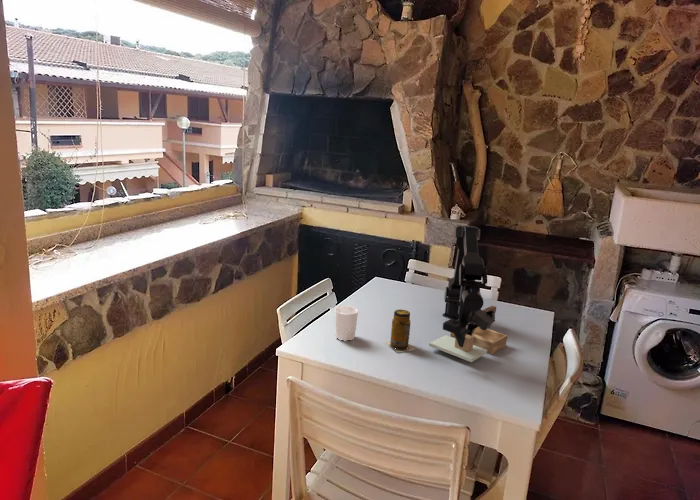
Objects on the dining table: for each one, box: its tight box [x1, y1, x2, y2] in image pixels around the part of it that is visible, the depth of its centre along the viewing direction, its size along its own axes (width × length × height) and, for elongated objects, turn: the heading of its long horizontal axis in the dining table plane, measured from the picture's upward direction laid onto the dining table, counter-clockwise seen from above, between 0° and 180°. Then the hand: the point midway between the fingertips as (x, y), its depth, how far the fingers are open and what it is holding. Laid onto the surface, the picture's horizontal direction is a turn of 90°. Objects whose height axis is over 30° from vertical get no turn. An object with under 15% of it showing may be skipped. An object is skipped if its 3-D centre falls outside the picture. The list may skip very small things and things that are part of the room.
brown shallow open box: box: [449, 327, 508, 356], centre depth 178 cm, size 16×15×5 cm
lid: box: [428, 334, 488, 363], centre depth 168 cm, size 16×10×6 cm, turn 47°
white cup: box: [334, 305, 359, 341], centre depth 176 cm, size 8×8×10 cm
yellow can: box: [384, 308, 417, 353], centre depth 171 cm, size 7×8×12 cm
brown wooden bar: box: [482, 305, 497, 314], centre depth 189 cm, size 2×12×2 cm, turn 137°
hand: (463, 345), depth 167 cm, fingers closed on lid, 3 cm apart
